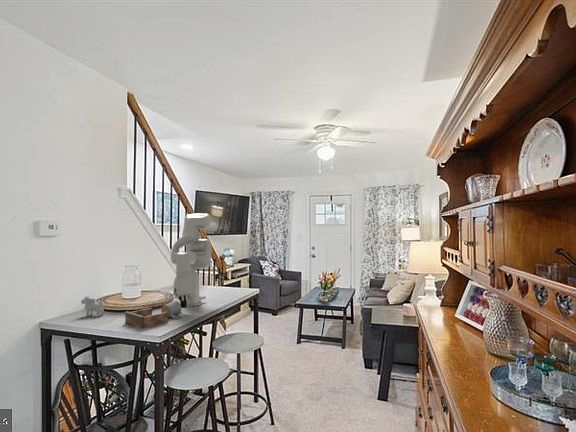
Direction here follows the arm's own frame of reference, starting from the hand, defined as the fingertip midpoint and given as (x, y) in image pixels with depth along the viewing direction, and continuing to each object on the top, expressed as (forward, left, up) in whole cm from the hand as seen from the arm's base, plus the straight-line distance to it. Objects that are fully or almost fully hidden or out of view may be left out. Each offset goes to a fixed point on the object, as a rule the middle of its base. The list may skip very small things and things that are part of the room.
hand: (183, 307), depth 188 cm
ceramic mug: (+7, +1, -4) cm, 8 cm away
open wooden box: (+21, 0, -3) cm, 21 cm away
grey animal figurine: (+32, -39, -4) cm, 51 cm away
